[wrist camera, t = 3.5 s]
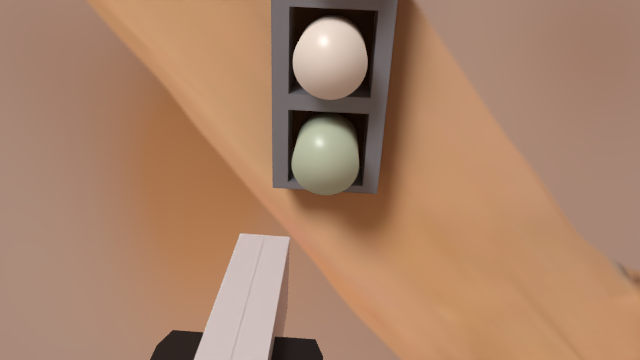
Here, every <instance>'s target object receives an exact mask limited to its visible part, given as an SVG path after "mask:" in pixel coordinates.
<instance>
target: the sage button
mask: <svg viewBox="0 0 640 360" xmlns="http://www.w3.org/2000/svg"><path fill="white" fill-rule="evenodd" d="M292 171H293V174H294V177H295V179H296V180H297V182H298V183H299V184H300V185H301V186H302V187H303V188H305V189H306V190H308V191H310V192H312V193H314V194H318V195H334V194H337V193H340V192H342V191H344V190H346V189H347V188H348V187H349V186H351V184H352V183H353V182H354V180H355V179H356V177H357V174H358V171H359V154H358V138H357V133H356V130H355V128H354V126H353V125H352V123H351V122H350V121H349V120H348V119H346V118H345V117H343V116H342V115H339V114H337V113H332V112H323V113H318V114H316V115H313V116H312V117H310V118H309V119H307V120H306V121H305V122H304V124H303V125H302V127H301V128H300V131H299V134H298V138H297V142H296V146H295V149H294V153H293V157H292Z"/></svg>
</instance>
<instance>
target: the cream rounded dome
mask: <svg viewBox="0 0 640 360" xmlns="http://www.w3.org/2000/svg"><path fill="white" fill-rule="evenodd" d="M367 65H368V59H367V52H366V47H365V42H364V38H363V35H362V33H361V31H360V30H359V28H358V27H357V26H356V25H355V24H354V23H353V22H352V21H351V20H349V19H347V18H345V17H343V16H339V15H325V16H322V17H319V18H317V19H316V20H314V21H313V22H312V23H310V24H309V25H308V27H307V28H306V29H305V31H304V32H303V34H302V36H301V38H300V40H299V41H298V43H297V45H296V48H295V50H294V54H293V70H294V73H295V76H296V78H297V80H298V82H299V84H300V85H301V86H302V87H303V89H305V90H306V91H307V92H308V93H310V94H311V95H313V96H315V97H317V98H321V99H326V100H335V99H340V98H343V97H345V96H348V95H349V94H351V93H352V92H354V91H355V90H356V89H357V88H358V87H359V85H360V84H361V83H362V81H363V79H364V77H365V75H366V71H367Z"/></svg>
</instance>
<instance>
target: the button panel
mask: <svg viewBox="0 0 640 360" xmlns="http://www.w3.org/2000/svg"><path fill="white" fill-rule="evenodd" d="M397 3H398V0H271V34H272V153H273V188H286V189H303V190H306V189H305V188H303V187H302V186H301V185H300V184H299V183H298V182H297V180H296V179H295V177H294V174H293V171H292V157H293V110H303V111H322V112H341V113H359V114H366V121H365V132H364V144H363V155H362V167H359V171H358V174H357V177H356V179H355V180H354V182H353V183H352V184H351V186H349V187H348V188H347V189H346V190H344V191H342V192H354V193H371V194H377V190H378V181H379V171H380V162H381V153H382V143H383V134H384V125H385V115H386V106H387V96H388V87H389V78H390V68H391V59H392V50H393V40H394V31H395V21H396V12H397ZM294 7H312V8H333V9H355V10H375V17H374V28H373V40H372V51H371V63H370V75H369V85H359V87H358V88H357V89H356V90H355V91H354V92H352V93H351V94H349V95H348V96H345V97H343V98H340V99H335V100H326V99H321V98H317V97H315V96H313V95H311V94H310V93H308V92H307V91H306V90H305V89H303V87H302V86H301V85H300V84H299V82H294V70H293V54H294Z"/></svg>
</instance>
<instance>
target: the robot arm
mask: <svg viewBox="0 0 640 360" xmlns="http://www.w3.org/2000/svg"><path fill="white" fill-rule="evenodd" d="M289 245H290V237H282V236H268V235H254V234H240V236H239V238H238V241H237V244H236V246H235V250H234V252H233V255H232V257H231V260H230V263H229V266H228V268H227V271H226V274H225V276H224V279H223V282H222V285H221V287H220V290H219V293H218V295H217V298H216V301H215V304H214V307H213V309H212V312H211V315H210V317H209V320H208V323H207V325H206V328H205V331H204V332H203V333H202V332H190V331H177V330H173V331H172V332H170V334H169V335H167V336H166V337H165V338H164V339H163V340H162V341H161V342H160V343H159V344H158V345H157V346H156V348H155V351H154V353H153V355H152V357H151V359H150V360H323V356H322V353H321V351H320V349H319V347H318V344H317V342H316V340H315V339H302V338H288V337H283V332H284V326H285V319H286V313H287V301H288V273H289Z"/></svg>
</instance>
